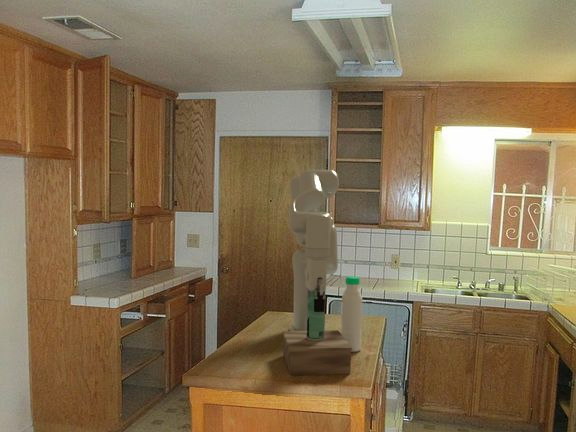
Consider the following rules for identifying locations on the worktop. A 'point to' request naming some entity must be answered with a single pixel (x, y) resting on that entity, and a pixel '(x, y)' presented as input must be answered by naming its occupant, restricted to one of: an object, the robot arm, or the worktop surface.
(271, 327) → the worktop surface
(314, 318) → the spray can
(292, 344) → the brown wooden block
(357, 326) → the water bottle
